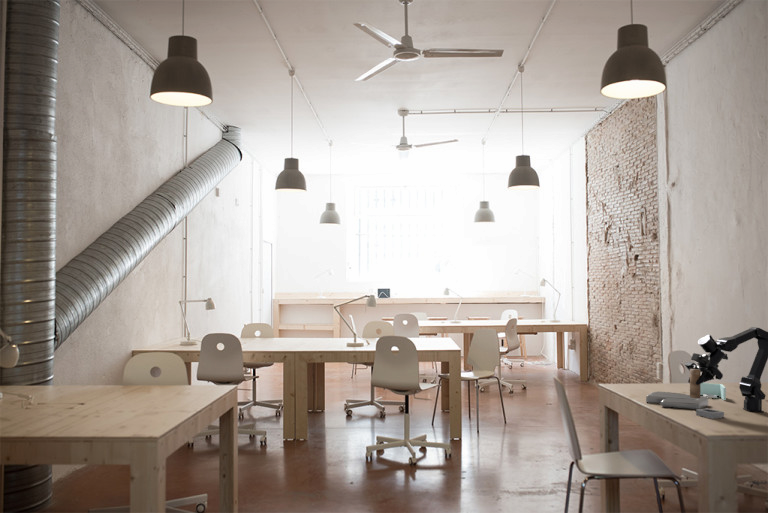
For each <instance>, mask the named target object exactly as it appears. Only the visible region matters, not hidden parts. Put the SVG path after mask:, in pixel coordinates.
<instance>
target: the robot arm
mask: <svg viewBox="0 0 768 513" xmlns="http://www.w3.org/2000/svg"><path fill="white" fill-rule="evenodd" d="M752 339H756V340H757V346H758V348H757V349H758V350H757V352H756V354H755V357H754V360H753V362H752V365H751V368H750V371H749V372H748V375H747V376H742V377H741V379H740V382H739V384H738V385H739V387H738V389H739V390H740V393H741V396H742V397H744V400H743V408H742V410H745V409H746V410H745V411H747V410H748V412H750V411H761V412H760V413H764V412H765V410H762V409H763V407H762V406H763V400H766V399H765V398H766V394H765V392H764V391H762V382H761V378H762V375H763V373H764V370H765V367H766V365H767V363H768V330H767V331H766V330H764V329H762V328H760V327H755V326H751V327H749V328H747V329H746V330H744V331H741V332H739V333H736V334H734V335H733V336H729V337H720V338H718V339H717V340H715V339H714V338H713V336H712V335H711V334H706V335H705V336H702V337H700V338H699V339H698V340H697V344H698V345H699V346H700V347H701V349H702V350H703V351H704V352H705V353H703V354H700V353H695V352H693V353H692V355H691V359H690V360H692V361H694V362H691V361H687V362H686V363H685V364H684V366H685V368H686V369H687V370H688V372H690V369H699V370H700V377H699V379H698V380H697V381H696V385H699V384H701V383H707V382H710V381H712V380H720V381H721V380H722V379H723V377H724V374H723V373H722V372H721V370H720V369H719V367H720V366H719V364H720V362H722V360H725V361H726V360H729V357H728V354H727V353H725V352H728V353H731V352H733V351H736V349H737V348H738V347H739V346H740V345H741V344H743V343H746V342H748V341H751V340H752ZM706 353H708V354H706ZM695 362H696V363H695ZM688 383H689V384H690V376H689V377H688Z"/></svg>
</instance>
